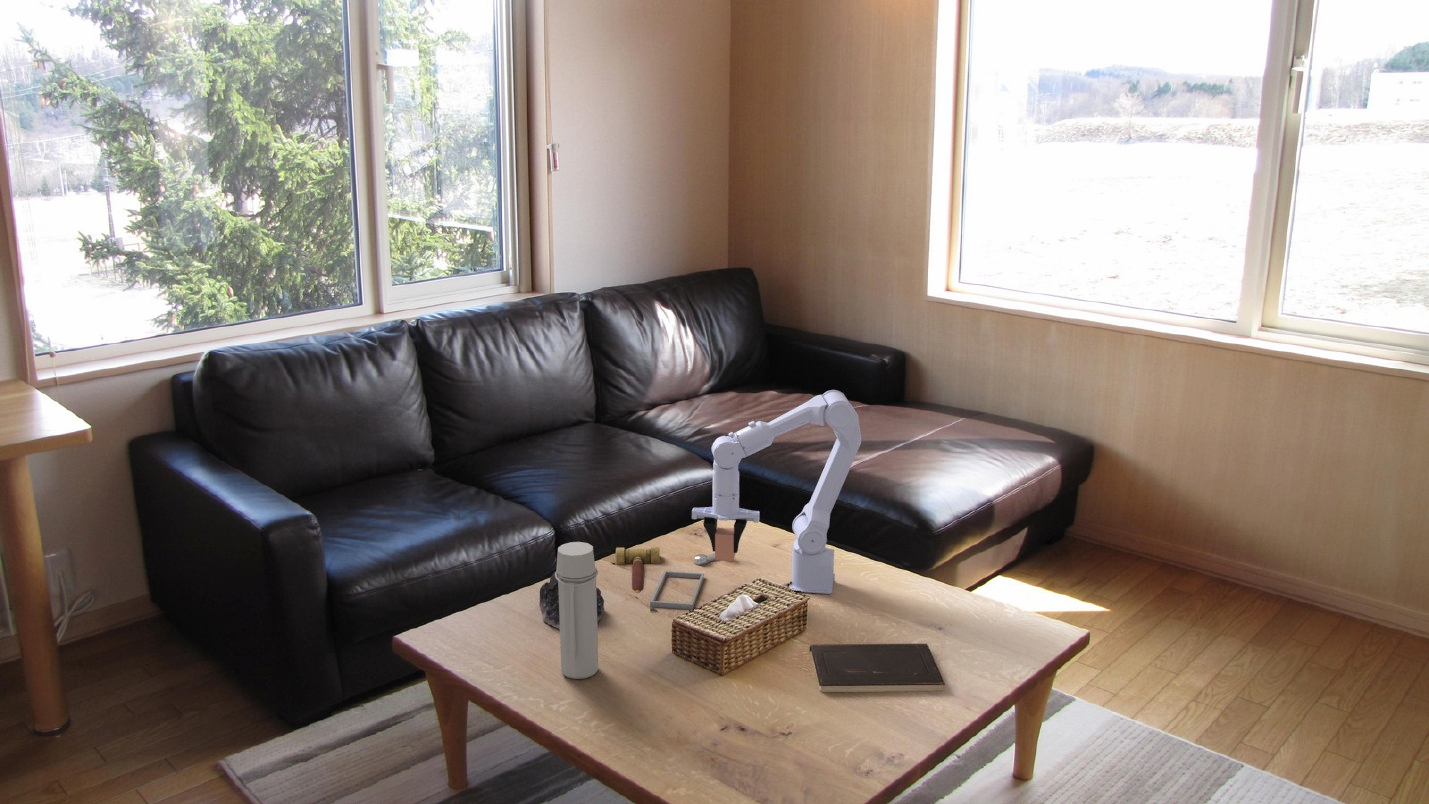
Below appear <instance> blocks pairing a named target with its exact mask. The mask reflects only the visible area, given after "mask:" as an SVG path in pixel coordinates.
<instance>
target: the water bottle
mask: <svg viewBox="0 0 1429 804" xmlns="http://www.w3.org/2000/svg"><path fill="white" fill-rule="evenodd" d="M556 557H557V558H556V571H555V572H556V573H555V577H556V579H557V580H558V588H559V617H560V629H559V639H560V642H559V643H560V670H561V673H562V674H563V675H564V676H565V677H566V678H568V679H574V680H582V679H588V678H589V677H590V678H591V677H593V676H594V675H595V674H596V673H597V672H598V671H599V642H598V641H599V638H598V637H599V636H598V621H597V593H596V587H597V577H598V575H599V570H598V568H597V567H596V563H595V554H594V546H593V545H591V544H590V543H588V542H581V541H572V542H567V543H564V544H561V545H560V546H558V547H557V556H556ZM557 574H558V577H557Z"/></svg>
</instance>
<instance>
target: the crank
mask: <svg viewBox="0 0 1429 804" xmlns="http://www.w3.org/2000/svg"><path fill="white" fill-rule="evenodd" d="M693 558H694V559H693V561H694V562H693V563H694V565H696V566H706V565H707V564H708V563H710V562H712V561H716V560H715V552H714V553H711V554H708V555H707V554H703V553H698V554H695V555H694V557H693Z"/></svg>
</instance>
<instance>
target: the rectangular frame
mask: <svg viewBox="0 0 1429 804" xmlns="http://www.w3.org/2000/svg"><path fill="white" fill-rule="evenodd" d="M667 577H669V578H670V577H672V578H686V579H699V581H698V583H697V584H696V585H697V586H696V588H695V590H694V593H693V596H692V598H691V601H690V603H689V602H688V603H687V602H674V601H673V602H671V601H659V600H657V598H658V596H659V592H660V591H661V589H662V587H663V584H664V582H665V580H666V578H667ZM704 580H705V572H704V573H702V572H701V573H700V572H687V571H686V572H685V571H672V570H671V571H670V570H663V573H662V575H661V578H660V580H659V582H658V584H657V587H656V588H655V590H654V592H653V595H652V597H651V599H650V602H649V610H650V611H649V612H652V611H658V610H657V609H655V608H670V609H684V610H693V609H694V606H695V603H696V600H697V598H698V596H699V592H700V590H701V587H702V584H703V581H704ZM654 607H655V608H654Z"/></svg>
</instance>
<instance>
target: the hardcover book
mask: <svg viewBox="0 0 1429 804" xmlns="http://www.w3.org/2000/svg"><path fill="white" fill-rule="evenodd" d="M809 652H810V653H811V657H812V662H813V666H814V667H813V668H814V670H815V675H816V678H817V683H818V688H819V691H820V693H848V692H849V693H850V692H851V693H853V692H855V693H856V692H857V693H860V692H865V693H866V692H936V691H937V692H943V691H944V686H945V685H946V683H945V681H944V678H943V676H942V674H941V671H940V670H939V667H938V664H937V663H936V661H935V659H934V656H933V654H932V651H931V649H930V647H929V645H928V643H927V642H926V643H844V644H843V643H841V644H839V643H838V644H837V643H834V644H832V643H829V644H828V643H827V644H826V643H825V644H823V643H822V644H816V643H815V644H809Z"/></svg>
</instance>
